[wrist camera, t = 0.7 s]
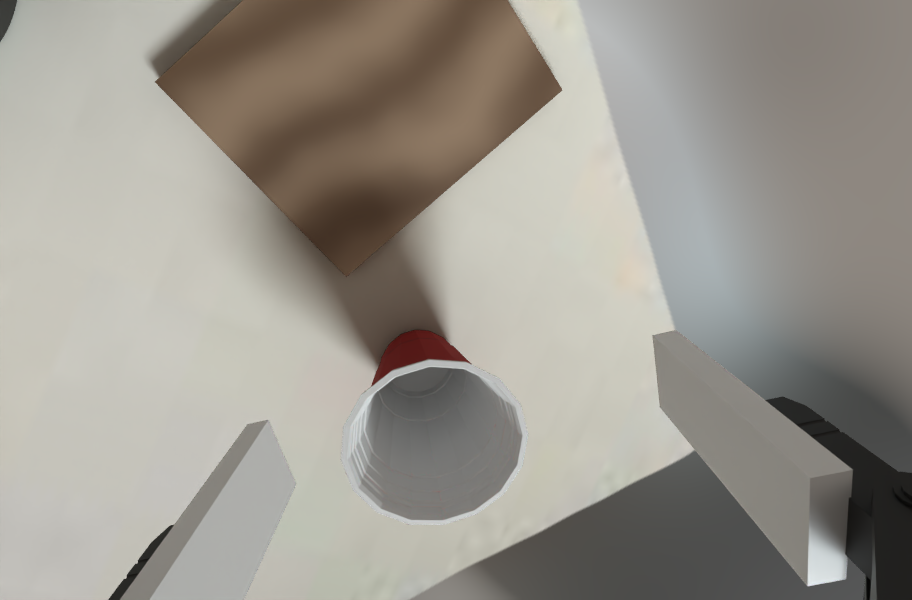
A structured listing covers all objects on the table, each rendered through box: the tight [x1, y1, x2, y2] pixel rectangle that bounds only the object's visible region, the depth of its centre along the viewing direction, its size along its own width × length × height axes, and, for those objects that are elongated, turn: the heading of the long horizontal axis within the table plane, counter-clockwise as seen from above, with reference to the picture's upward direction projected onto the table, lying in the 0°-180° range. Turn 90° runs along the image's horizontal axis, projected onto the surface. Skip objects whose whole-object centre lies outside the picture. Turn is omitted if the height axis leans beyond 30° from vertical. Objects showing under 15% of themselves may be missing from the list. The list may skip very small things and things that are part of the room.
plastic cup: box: [341, 330, 528, 525], centre depth 31 cm, size 11×11×12 cm
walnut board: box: [155, 0, 562, 277], centre depth 29 cm, size 16×20×1 cm
